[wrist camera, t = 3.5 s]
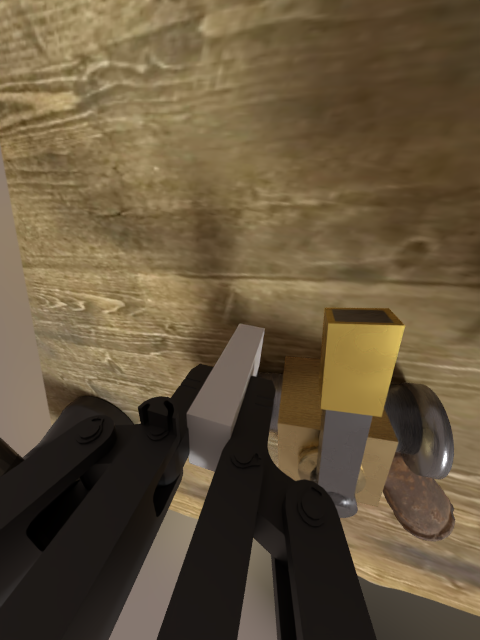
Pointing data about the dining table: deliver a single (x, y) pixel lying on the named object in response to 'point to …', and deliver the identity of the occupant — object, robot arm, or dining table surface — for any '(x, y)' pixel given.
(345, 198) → the dining table surface
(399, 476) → the pipe
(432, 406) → the valve body
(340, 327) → the lever
